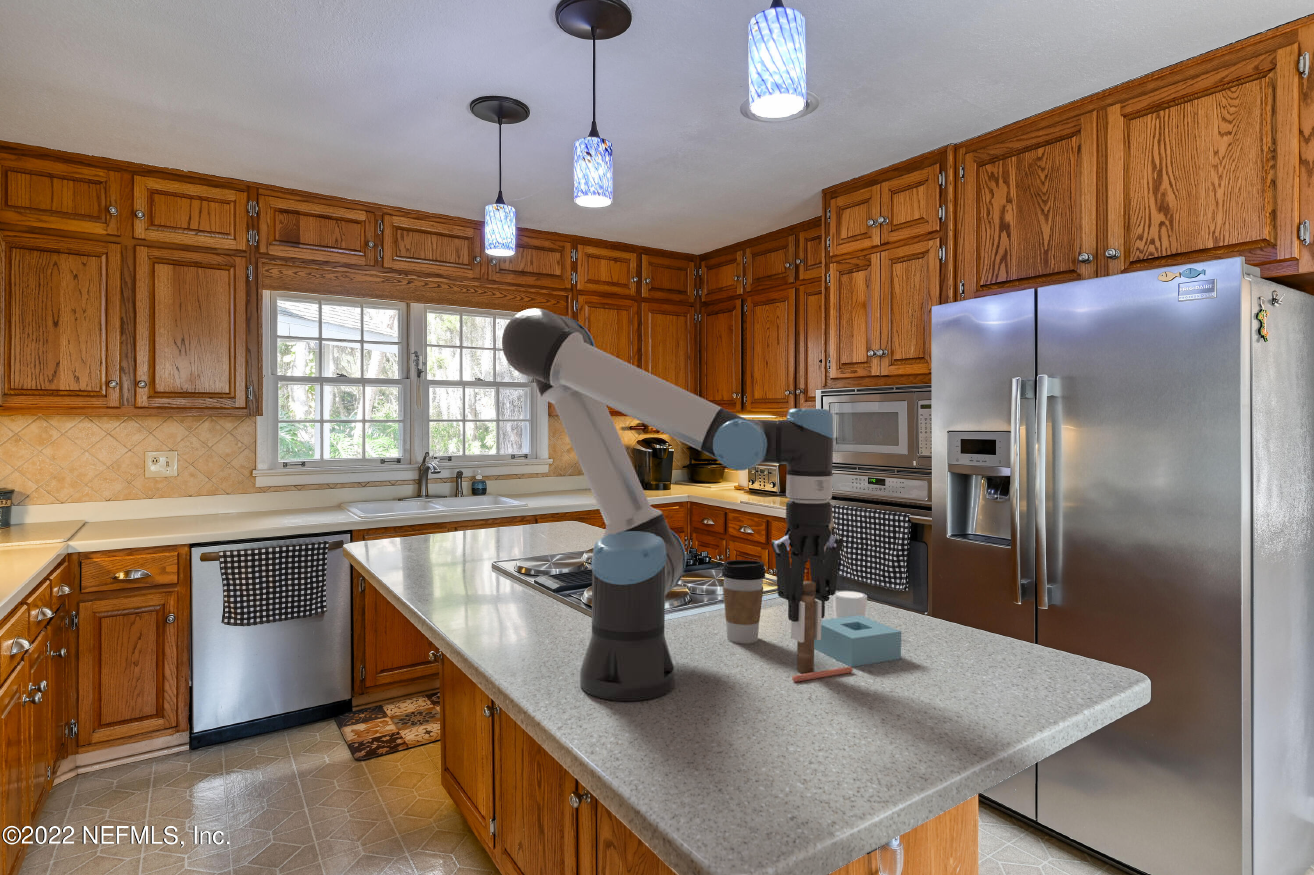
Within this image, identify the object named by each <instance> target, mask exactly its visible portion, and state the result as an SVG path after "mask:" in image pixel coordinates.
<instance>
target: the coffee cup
mask: <svg viewBox="0 0 1314 875" xmlns="http://www.w3.org/2000/svg"><path fill="white" fill-rule="evenodd" d="M764 563H765V562H764V561H761V560H760V561H759V560H749V559H748V560H747V559H732V560H725V561H724V562H723V566H722V569H721V576H722V577H723V586H722V588H723V602H724V614H725V625H726V626H725V628H726V629H725V630H726V638H727V640H728V641H730V642H732V643H737V644H753V643H756V642H757V641H758V639H759V629H760V621H761V612H762V603H763V593H764V586H763V584H764V583H763V582H764V579H765V578H766V571H765V564H764Z"/></svg>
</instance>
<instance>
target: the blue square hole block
mask: <svg viewBox="0 0 1314 875" xmlns="http://www.w3.org/2000/svg"><path fill="white" fill-rule="evenodd" d="M814 650H817V651H818V652H820V653H822V654H825V655H826V656H829V657H831V658H832V659H834V660H836V661H838V662H841V663H842V664H844V665H846V666H847V667H852V668H853V667H860V666H865V665H872V664H878V663H885V662H889V661H895V660H896V661H897V660H901V656H902V630H899V629H897V628H894V627H892V626H889V625H886V624H884V623H881V622H879V621H877V620H874V619H871V618H869V617H866V616H865V617H864V616H861V615H857V616H849V617H841V618H834V617H833V618H827V619H821V640H816V639H814Z"/></svg>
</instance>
